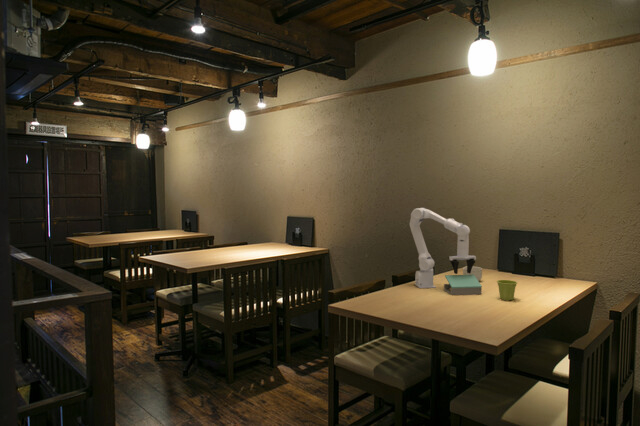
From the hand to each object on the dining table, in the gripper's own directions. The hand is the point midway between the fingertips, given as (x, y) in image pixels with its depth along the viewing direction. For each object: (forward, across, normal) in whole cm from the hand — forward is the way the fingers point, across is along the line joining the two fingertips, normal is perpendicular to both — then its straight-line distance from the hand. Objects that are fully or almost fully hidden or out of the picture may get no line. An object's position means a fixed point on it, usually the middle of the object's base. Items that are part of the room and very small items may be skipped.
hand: (462, 273), depth 227 cm
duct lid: (+4, -2, -4) cm, 5 cm away
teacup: (+10, +19, +22) cm, 31 cm away
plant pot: (+10, +13, -20) cm, 25 cm away
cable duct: (+9, -2, -3) cm, 10 cm away
